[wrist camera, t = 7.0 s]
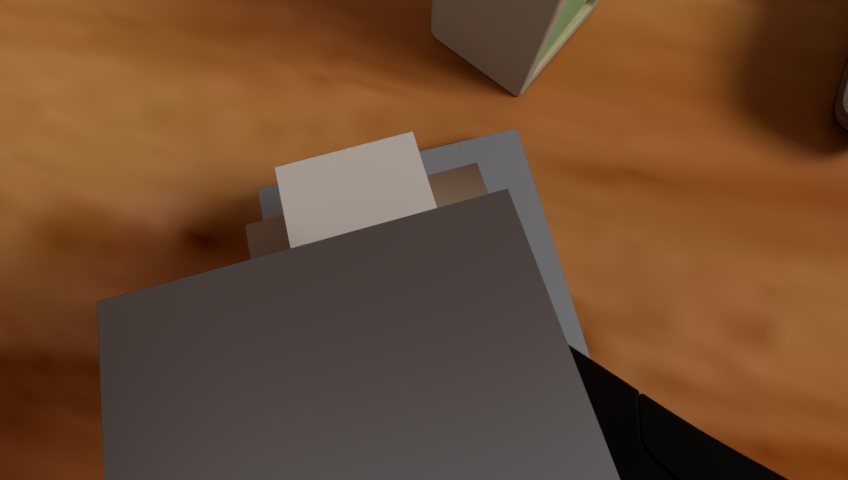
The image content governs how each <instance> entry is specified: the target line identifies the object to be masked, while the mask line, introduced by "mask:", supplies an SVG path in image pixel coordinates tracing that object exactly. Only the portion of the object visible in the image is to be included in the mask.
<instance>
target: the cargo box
mask: <svg viewBox="0 0 848 480" xmlns="http://www.w3.org/2000/svg"><path fill="white" fill-rule="evenodd" d="M275 172H276V177H277V182H278V187H279V192H280V197H281V202H282V207H283V212H284V218H285V223H286V228H287V233H288V238H289V243H290V248H294V247H297V246H301V245H305V244H308V243H312V242H316V241H319V240H323V239H326V238H330V237H334V236H337V235H341V234H345V233H348V232H352V231H355V230H359V229H363V228H366V227H370V226H374V225H377V224H381V223H384V222H388V221H392V220H395V219H399V218H402V217H406V216H410V215H413V214H417V213H421V212H424V211H428V210H431V209H435V208H437V206H436V203H435V200H434V197H433V193H432V190H431V187H430V184H429V181H428V178H427V175H426V172H425V169H424V166H423V162H422V159H421V156H420V153H419V150H418V147H417V144H416V141H415V138H414V134H413V131H412V132H409V133H405V134H401V135H397V136H393V137H390V138H386V139H382V140H378V141H374V142H371V143H367V144H363V145H359V146H355V147H352V148H348V149H344V150H340V151H336V152H333V153H329V154H325V155H321V156H317V157H314V158H310V159H306V160H302V161H298V162H295V163H291V164H287V165H283V166H279V167H275Z"/></svg>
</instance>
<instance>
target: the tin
mask: <svg viewBox="0 0 848 480" xmlns="http://www.w3.org/2000/svg"><path fill="white" fill-rule="evenodd" d="M835 116H836V119H837V121H838V122H839V124H840V125H841V126H843V127H844V128H846V129H847V130H848V62H847V65H846V68H845V71H844V74H843V77H842V80H841V84H840V87H839V90H838V93H837V96H836V101H835Z"/></svg>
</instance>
